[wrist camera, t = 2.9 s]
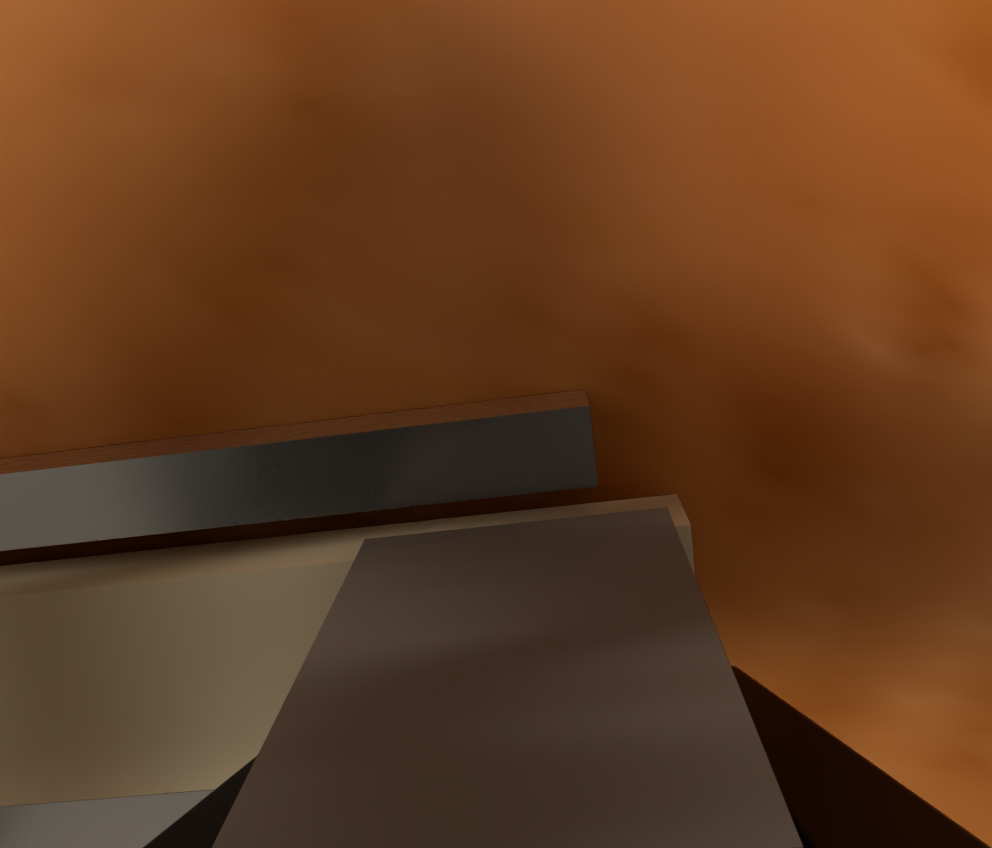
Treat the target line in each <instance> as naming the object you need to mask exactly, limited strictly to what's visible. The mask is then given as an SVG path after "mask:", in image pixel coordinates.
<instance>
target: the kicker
mask: <svg viewBox="0 0 992 848" xmlns="http://www.w3.org/2000/svg"><path fill="white" fill-rule="evenodd" d="M256 756H257V757H256ZM255 757H256V759H255V761H254V763H253V766H252V768H251V770H250V772H249V774H248V776H247V778H246V780H245V782H244V784H243V786H242V788H241V790H240V792H239V794H238V796H237V798H236V800H235V802H234V804H233V806H232V808H231V810H230V812H229V814H228V816H227V818H226V820H225V822H224V824H223V826H222V828H221V830H220V832H219V834H218V836H217V838H216V840H215V842H214V844H213V846H212V848H803V845H802V842H801V840H800V837H799V835H798V832H797V830H796V827H795V825H794V822H793V820H792V817H791V815H790V812H789V810H788V808H787V805H786V803H785V800H784V798H783V795H782V793H781V790H780V788H779V785H778V783H777V780H776V778H775V775H774V773H773V770H772V768H771V765H770V763H769V760H768V758H767V755H766V753H765V750H764V748H763V745H762V743H761V740H760V738H759V735H758V733H757V730H756V728H755V725H754V723H753V720H752V718H751V715H750V713H749V710H748V708H747V705H746V703H745V700H744V698H743V695H742V693H741V690H740V688H739V685H738V683H737V680H736V678H735V675H734V673H733V670H732V668H731V665H730V663H729V660H728V658H727V655H726V653H725V650H724V648H723V645H722V643H721V640H720V638H719V635H718V633H717V630H716V628H715V625H714V623H713V620H712V618H711V615H710V613H709V610H708V608H707V605H706V603H705V600H704V598H703V595H702V593H701V590H700V588H699V585H698V583H697V580H696V578H695V569H694V556H693V543H692V530H691V524H690V522H689V519H688V517H687V515H686V513H685V510H684V508H683V506H682V504H681V502H680V499H679V497H678V495H677V494H671V495H661V496H652V497H643V498H633V499H624V500H615V501H605V502H596V503H586V504H577V505H568V506H558V507H549V508H540V509H530V510H521V511H511V512H502V513H493V514H483V515H474V516H464V517H455V518H446V519H436V520H427V521H418V522H408V523H399V524H389V525H380V526H371V527H361V528H352V529H343V530H333V531H324V532H314V533H305V534H296V535H286V536H277V537H267V538H258V539H249V540H239V541H230V542H221V543H211V544H202V545H192V546H183V547H174V548H164V549H155V550H146V551H136V552H127V553H117V554H108V555H99V556H89V557H80V558H70V559H61V560H52V561H42V562H33V563H24V564H14V565H5V566H0V807H1V806H14V805H26V804H39V803H51V802H64V801H76V800H88V799H101V798H113V797H126V796H138V795H151V794H163V793H176V792H188V791H200V790H213V789H216V788H217V787H219V786H220V785H221V784H222V783H224V782H225V781H226V780H227V779H229V778H230V777H231V776H232V775H233V774H235V773H236V772H237V771H238V770H240V769H241V768H242V767H243V766H245V765H246V764H247V763H248V762H250V761H251V760H252V759H253V758H255Z"/></svg>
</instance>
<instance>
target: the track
mask: <svg viewBox="0 0 992 848" xmlns="http://www.w3.org/2000/svg"><path fill="white" fill-rule="evenodd" d="M597 486H598V479H597V470H596V461H595V451H594V442H593V433H592V423H591V414H590V405H589V401H588V397H587V392H586V389H585V390H577V391H568V392H560V393H551V394H543V395H534V396H526V397H518V398H509V399H501V400H492V401H484V402H475V403H467V404H458V405H450V406H441V407H433V408H425V409H416V410H408V411H399V412H391V413H382V414H374V415H365V416H357V417H348V418H340V419H332V420H323V421H315V422H306V423H298V424H289V425H281V426H272V427H264V428H256V429H247V430H239V431H230V432H222V433H213V434H205V435H196V436H188V437H179V438H171V439H163V440H154V441H146V442H137V443H129V444H120V445H112V446H103V447H95V448H86V449H78V450H70V451H61V452H53V453H44V454H36V455H27V456H19V457H10V458H2V459H0V551H6V550H15V549H24V548H33V547H43V546H52V545H61V544H70V543H79V542H89V541H98V540H107V539H116V538H126V537H135V536H144V535H153V534H163V533H172V532H181V531H190V530H200V529H209V528H218V527H227V526H237V525H246V524H255V523H264V522H274V521H283V520H292V519H301V518H310V517H320V516H329V515H338V514H347V513H357V512H366V511H375V510H384V509H394V508H403V507H412V506H421V505H431V504H440V503H449V502H458V501H468V500H477V499H486V498H495V497H505V496H514V495H523V494H532V493H541V492H551V491H560V490H569V489H578V488H588V487H597ZM214 790H215V789H213V790H200V791H188V792H176V793H163V794H151V795H138V796H126V797H113V798H101V799H88V800H76V801H64V802H51V803H39V804H26V805H14V806H1V807H0V848H143V847H144V846H145V845H147V844H148V843H149V842H150V841H152V840H153V839H154V838H155V837H157V836H158V835H159V834H160V833H162V832H163V831H164V830H165V829H166V828H168V827H169V826H170V825H171V824H173V823H174V822H175V821H176V820H178V819H179V818H180V817H181V816H183V815H184V814H185V813H186V812H188V811H189V810H190V809H191V808H193V807H194V806H195V805H196V804H198V803H199V802H200V801H201V800H202V799H204V798H205V797H206V796H207V795H209V794H210V793H211V792H212V791H214Z"/></svg>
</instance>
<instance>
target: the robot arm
mask: <svg viewBox="0 0 992 848" xmlns="http://www.w3.org/2000/svg"><path fill="white" fill-rule="evenodd" d="M731 668H732V670H733V673H734V675H735V678H736V680H737V683H738V685H739V688H740V690H741V693H742V695H743V698H744V700H745V703H746V705H747V708H748V710H749V713H750V715H751V718H752V720H753V723H754V725H755V728H756V730H757V733H758V735H759V738H760V740H761V743H762V745H763V748H764V750H765V753H766V755H767V758H768V760H769V763H770V765H771V768H772V770H773V773H774V775H775V778H776V780H777V783H778V785H779V788H780V790H781V793H782V795H783V798H784V800H785V803H786V805H787V808H788V810H789V812H790V815H791V817H792V820H793V822H794V825H795V827H796V830H797V832H798V835H799V837H800V840H801V842H802V845H803V848H991V847H990V846H988V845H987V844H985V843H984V842H983V841H981V840H980V839H978V838H977V837H976V836H974V835H973V834H971V833H970V832H968V831H967V830H966V829H964V828H963V827H961V826H960V825H959V824H957V823H956V822H954V821H953V820H952V819H950V818H949V817H947V816H946V815H945V814H943V813H942V812H940V811H939V810H938V809H936V808H935V807H933V806H932V805H930V804H929V803H928V802H926V801H925V800H923V799H922V798H921V797H919V796H918V795H916V794H915V793H914V792H912V791H911V790H909V789H908V788H907V787H905V786H904V785H902V784H901V783H899V782H898V781H897V780H895V779H894V778H892V777H891V776H890V775H888V774H887V773H885V772H884V771H883V770H881V769H880V768H878V767H877V766H876V765H874V764H873V763H871V762H870V761H869V760H867V759H866V758H864V757H863V756H861V755H860V754H859V753H857V752H856V751H854V750H853V749H852V748H850V747H849V746H847V745H846V744H845V743H843V742H842V741H840V740H839V739H838V738H836V737H835V736H833V735H832V734H830V733H829V732H828V731H826V730H825V729H823V728H822V727H821V726H819V725H818V724H816V723H815V722H814V721H812V720H811V719H809V718H808V717H807V716H805V715H804V714H802V713H801V712H800V711H798V710H797V709H795V708H794V707H792V706H791V705H790V704H788V703H787V702H785V701H784V700H783V699H781V698H780V697H778V696H777V695H776V694H774V693H773V692H771V691H770V690H769V689H767V688H766V687H764V686H763V685H761V684H760V683H759V682H757V681H756V680H754V679H753V678H752V677H750V676H749V675H747V674H746V673H745V672H743V671H742V670H740V669H739V668H737V667H735V666H731ZM256 757H257V756H256ZM256 757H255V758H253V759H252V760H251V761H250V762H248V763H247V764H246V765H245V766H243V767H242V768H241V769H240V770H238V771H237V772H236V773H235V774H233V775H232V776H231V777H230V778H229V779H227V780H226V781H225V782H224V783H222V784H221V785H220V786H219V787H217V788H216V789H215V790H214V791H212V792H211V793H210V794H209V795H207V796H206V797H205V798H204V799H202V800H201V801H200V802H199V803H198V804H196V805H195V806H194V807H193V808H191V809H190V810H189V811H188V812H186V813H185V814H184V815H183V816H181V817H180V818H179V819H178V820H176V821H175V822H174V823H173V824H171V825H170V826H169V827H168V828H166V829H165V830H164V831H163V832H162V833H160V834H159V835H158V836H157V837H155V838H154V839H153V840H152V841H150V842H149V843H148V844H147V845H145V846H144V847H143V848H212V846H213V844H214V842H215V840H216V838H217V836H218V834H219V832H220V830H221V828H222V826H223V824H224V822H225V820H226V818H227V816H228V814H229V812H230V810H231V808H232V806H233V804H234V802H235V800H236V798H237V796H238V794H239V792H240V790H241V788H242V786H243V784H244V782H245V780H246V778H247V776H248V774H249V772H250V770H251V768H252V766H253V763H254V761H255V759H256Z"/></svg>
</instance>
